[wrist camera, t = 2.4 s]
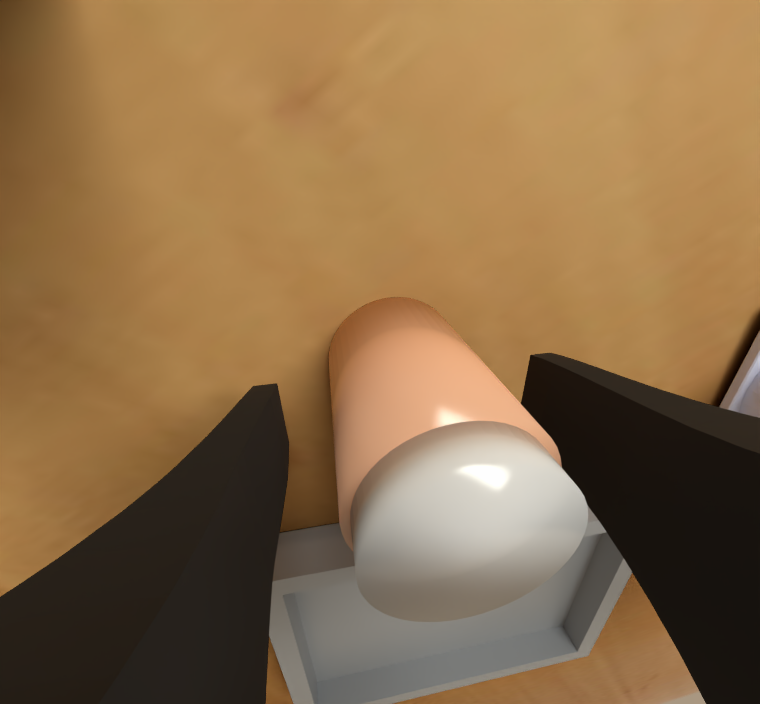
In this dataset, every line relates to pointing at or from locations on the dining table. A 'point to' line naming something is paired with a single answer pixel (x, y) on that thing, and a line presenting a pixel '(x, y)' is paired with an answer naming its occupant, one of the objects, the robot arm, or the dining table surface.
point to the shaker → (441, 471)
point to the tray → (425, 625)
